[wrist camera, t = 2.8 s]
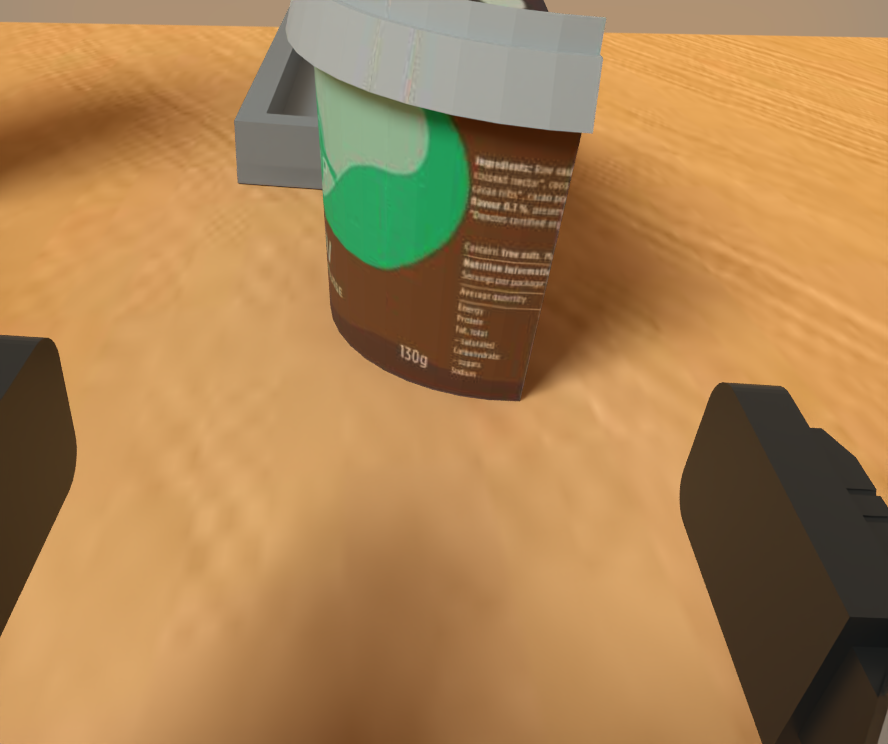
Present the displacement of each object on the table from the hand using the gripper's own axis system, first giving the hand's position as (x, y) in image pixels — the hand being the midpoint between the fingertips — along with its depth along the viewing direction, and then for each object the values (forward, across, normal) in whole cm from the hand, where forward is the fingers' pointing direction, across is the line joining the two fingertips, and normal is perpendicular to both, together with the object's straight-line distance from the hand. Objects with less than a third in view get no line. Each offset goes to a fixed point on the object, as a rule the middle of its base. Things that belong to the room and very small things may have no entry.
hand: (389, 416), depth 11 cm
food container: (+14, 0, +7) cm, 16 cm away
